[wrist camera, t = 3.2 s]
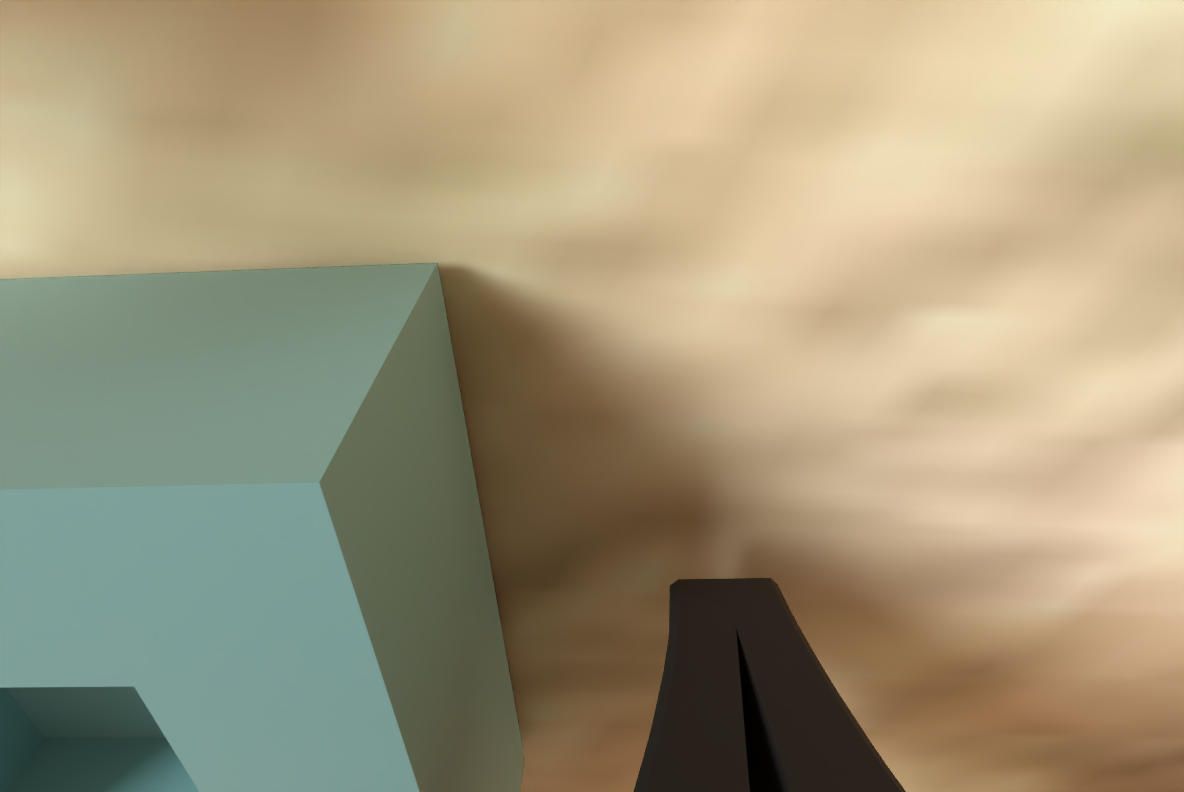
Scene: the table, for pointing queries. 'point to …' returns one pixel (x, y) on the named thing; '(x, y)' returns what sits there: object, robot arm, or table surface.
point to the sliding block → (243, 539)
